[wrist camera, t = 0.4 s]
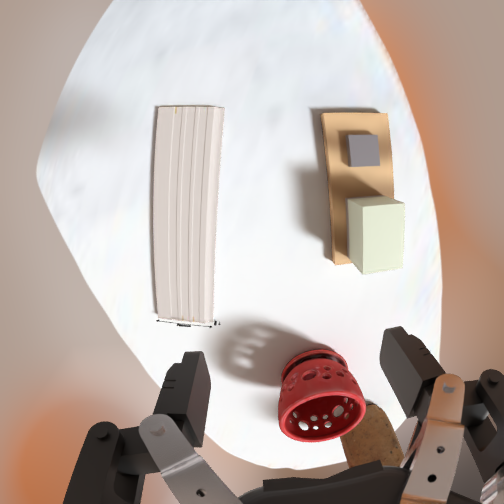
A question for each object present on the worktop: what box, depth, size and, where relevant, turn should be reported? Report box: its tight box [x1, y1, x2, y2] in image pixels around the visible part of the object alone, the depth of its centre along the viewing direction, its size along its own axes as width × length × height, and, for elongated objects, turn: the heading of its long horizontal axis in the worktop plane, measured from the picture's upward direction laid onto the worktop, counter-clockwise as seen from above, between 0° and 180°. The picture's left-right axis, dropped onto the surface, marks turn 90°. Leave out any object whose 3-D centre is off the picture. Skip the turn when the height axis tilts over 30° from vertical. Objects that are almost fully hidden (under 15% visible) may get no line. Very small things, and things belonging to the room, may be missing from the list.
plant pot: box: [278, 350, 366, 442], centre depth 40 cm, size 13×13×12 cm
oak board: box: [321, 113, 394, 265], centre depth 34 cm, size 20×9×2 cm, turn 7°
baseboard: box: [153, 107, 225, 328], centre depth 36 cm, size 30×3×10 cm
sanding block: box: [345, 195, 405, 275], centre depth 32 cm, size 8×6×6 cm
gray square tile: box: [345, 135, 380, 167], centre depth 31 cm, size 4×4×1 cm
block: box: [340, 404, 404, 468], centre depth 41 cm, size 11×8×20 cm
